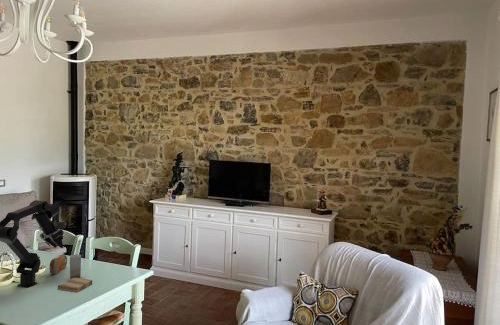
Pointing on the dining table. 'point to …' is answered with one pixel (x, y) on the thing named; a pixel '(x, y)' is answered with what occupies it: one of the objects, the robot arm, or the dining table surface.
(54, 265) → the tin
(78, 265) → the brushed metal box
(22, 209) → the robot arm
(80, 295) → the dining table surface
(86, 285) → the plate
